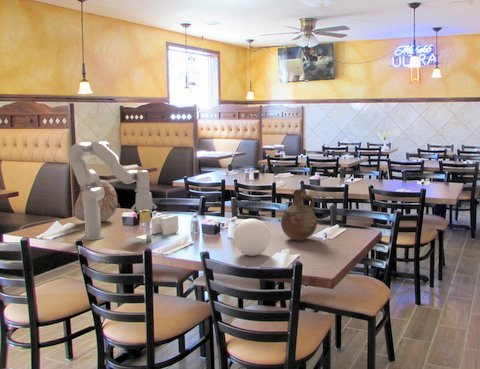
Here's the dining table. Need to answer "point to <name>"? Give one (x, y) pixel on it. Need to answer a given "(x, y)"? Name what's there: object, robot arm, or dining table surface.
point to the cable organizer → (165, 224)
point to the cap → (145, 216)
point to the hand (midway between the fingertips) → (144, 219)
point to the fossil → (105, 204)
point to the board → (156, 239)
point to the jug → (299, 217)
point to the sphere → (251, 237)
